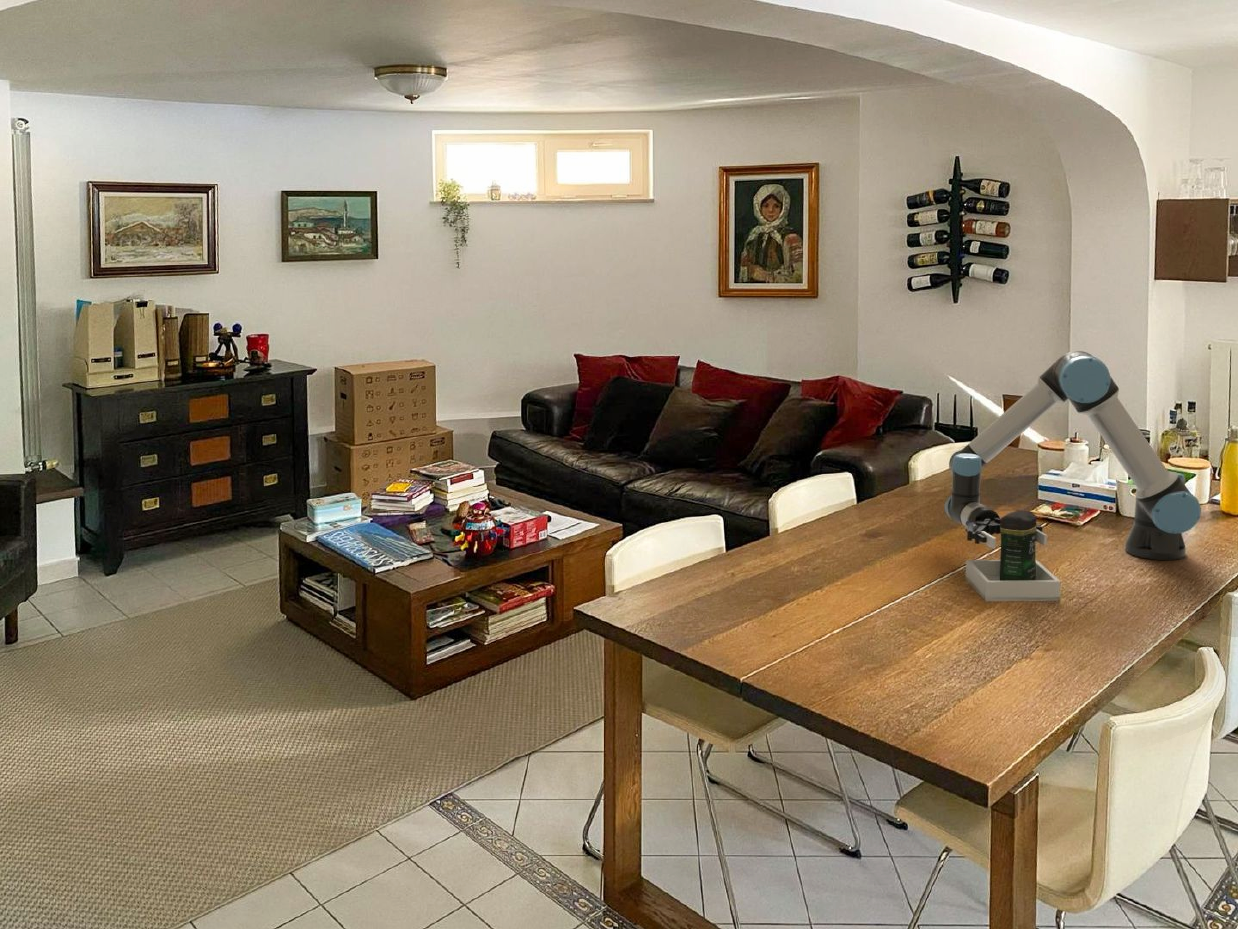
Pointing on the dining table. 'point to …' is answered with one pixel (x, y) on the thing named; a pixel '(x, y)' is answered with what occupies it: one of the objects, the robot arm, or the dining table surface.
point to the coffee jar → (1018, 546)
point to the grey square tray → (1011, 583)
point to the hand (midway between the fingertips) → (1020, 542)
